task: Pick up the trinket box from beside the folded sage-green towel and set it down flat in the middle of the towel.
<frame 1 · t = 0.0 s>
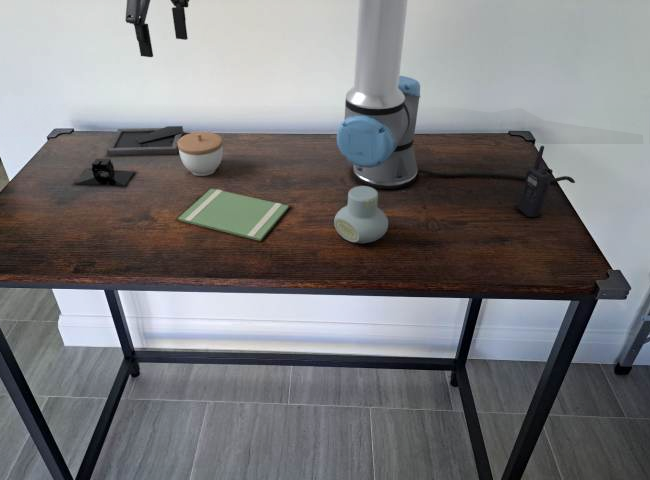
hand: (165, 47, 124), 28 cm above the table, tool pointing down, fingers open, 13 cm apart
build plate: (105, 179, 136), on the table
picture frame: (147, 144, 151), on the table
trinket box: (203, 170, 138), on the table
towel: (234, 214, 122), on the table
two-way radio: (530, 212, 121), on the table
air freshener: (360, 235, 115), on the table
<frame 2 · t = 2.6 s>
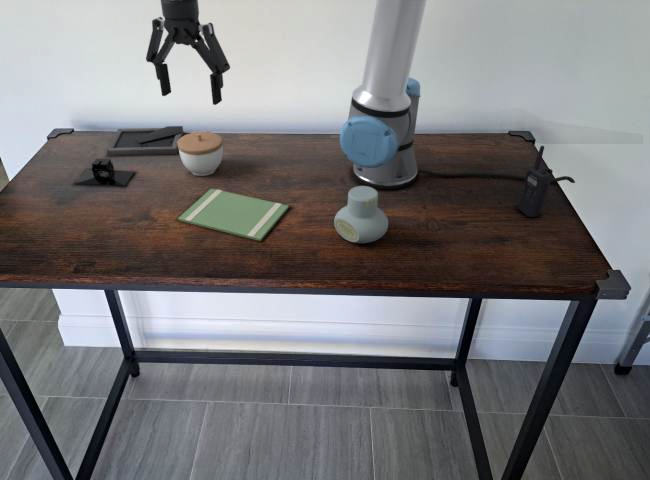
hand: (191, 98, 127), 18 cm above the table, tool pointing down, fingers open, 13 cm apart
nothing on the table moved.
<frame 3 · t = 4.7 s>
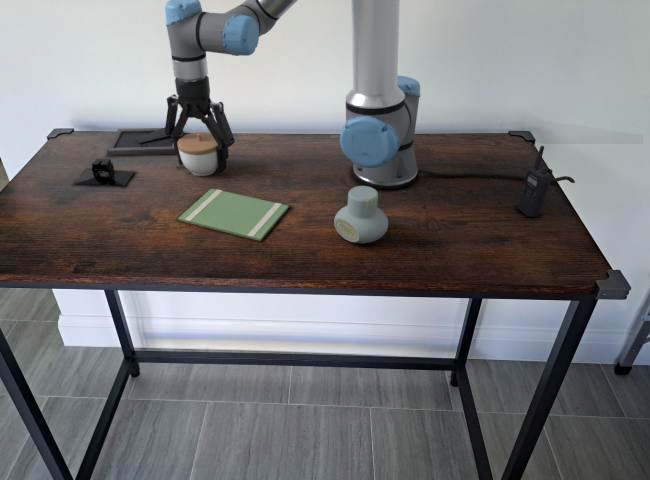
hand: (203, 166, 138), 1 cm above the table, tool pointing down, fingers closed on trinket box, 11 cm apart
trinket box: (203, 170, 138), on the table, touching gripper
everything else where it was.
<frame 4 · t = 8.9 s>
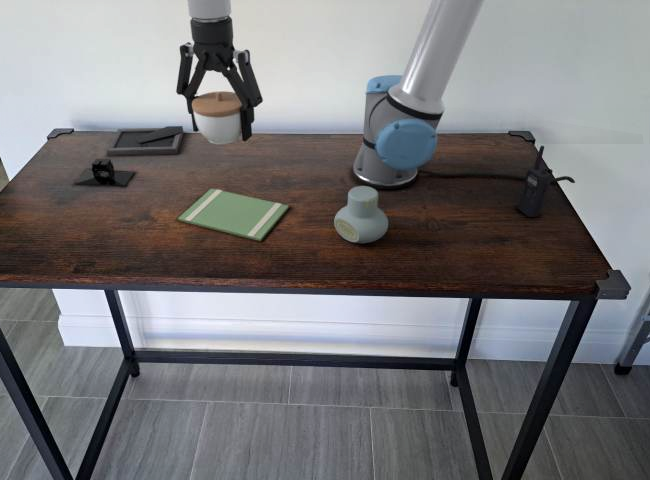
hand: (222, 133, 113), 17 cm above the table, tool pointing down, fingers closed on trinket box, 11 cm apart
trinket box: (222, 139, 114), point 16 cm above the table, touching gripper
everything else where it was.
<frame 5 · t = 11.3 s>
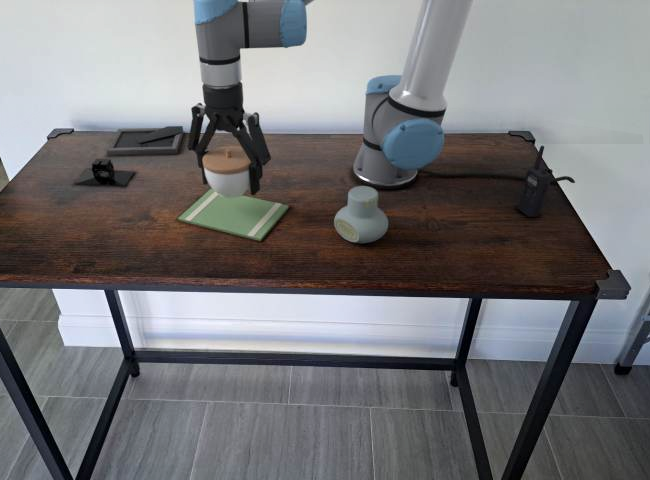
hand: (231, 186, 118), 7 cm above the table, tool pointing down, fingers closed on trinket box, 11 cm apart
trinket box: (231, 191, 119), point 6 cm above the table, touching gripper
everything else where it was.
when the fingers open (1 cm above the table, at t = 13.2 s): trinket box stays where it is, resting on towel.
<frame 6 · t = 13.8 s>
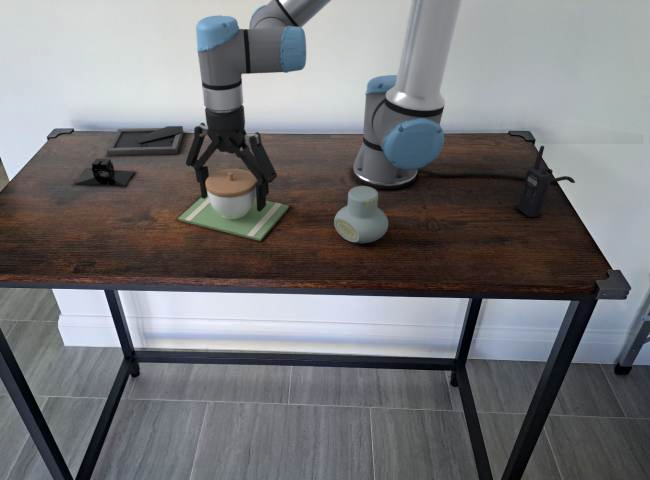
hand: (233, 202, 120), 3 cm above the table, tool pointing down, fingers open, 13 cm apart
trinket box: (233, 212, 122), resting on towel
everything else where it was.
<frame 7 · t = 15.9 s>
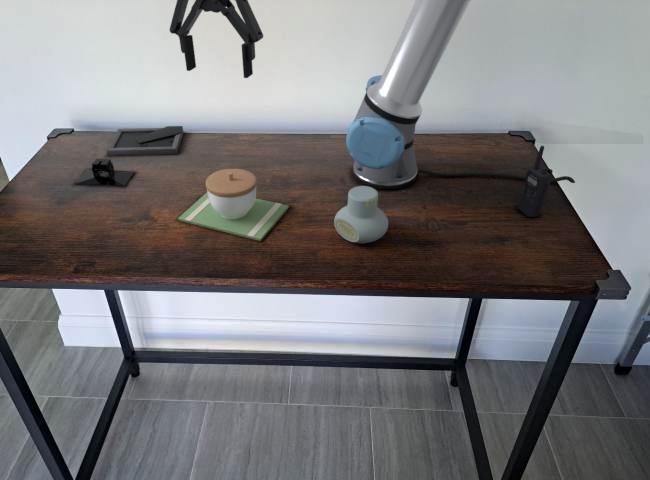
hand: (219, 72, 118), 26 cm above the table, tool pointing down, fingers open, 13 cm apart
nothing on the table moved.
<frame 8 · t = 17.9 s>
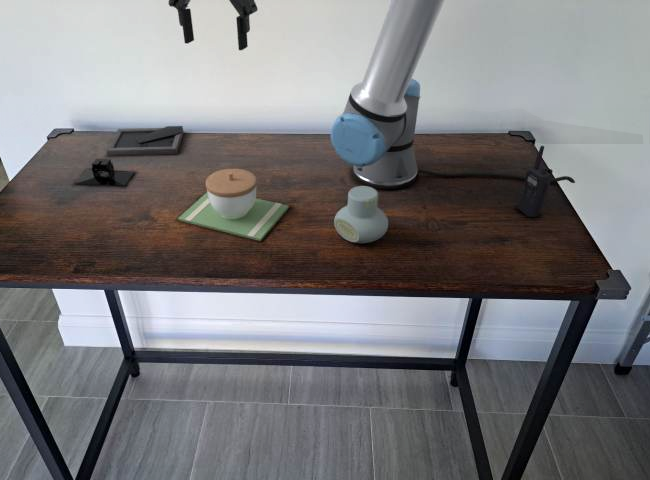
hand: (215, 45, 122), 29 cm above the table, tool pointing down, fingers open, 13 cm apart
nothing on the table moved.
at the end: trinket box inside the target area on the towel (0.1 cm from its centre), point 0.4 cm above the towel's base; trinket box touching towel; trinket box tilted 0° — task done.
